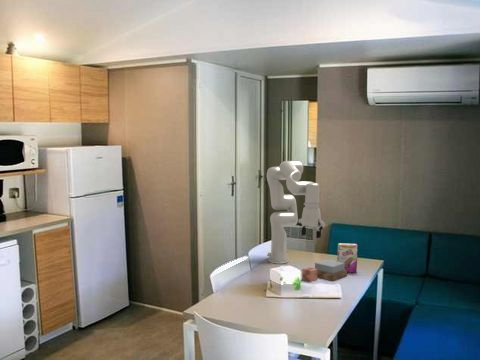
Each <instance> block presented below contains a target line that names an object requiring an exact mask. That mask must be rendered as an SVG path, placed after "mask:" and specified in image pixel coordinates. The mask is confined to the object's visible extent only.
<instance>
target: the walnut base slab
mask: <svg viewBox="0 0 480 360" xmlns="http://www.w3.org/2000/svg"><path fill="white" fill-rule="evenodd" d="M346 277H348V272H347V270H343V271H340V272H337V273H335V274H330V273H326V272H322V271H317V278H319V279H322V280H323V279H324V280H328V281H332V282H335V281H338V280H339V279H343V278H346Z"/></svg>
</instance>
